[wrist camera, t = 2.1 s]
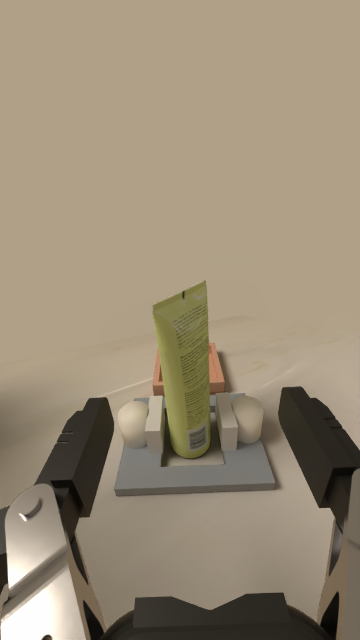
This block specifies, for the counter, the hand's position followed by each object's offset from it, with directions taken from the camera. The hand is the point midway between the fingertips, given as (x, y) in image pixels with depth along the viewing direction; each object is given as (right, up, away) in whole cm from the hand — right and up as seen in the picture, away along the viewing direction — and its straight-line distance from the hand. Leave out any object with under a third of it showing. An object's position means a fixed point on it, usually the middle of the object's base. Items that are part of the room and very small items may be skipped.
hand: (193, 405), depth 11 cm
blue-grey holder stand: (+1, -11, +18) cm, 21 cm away
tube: (+1, -11, +18) cm, 21 cm away
